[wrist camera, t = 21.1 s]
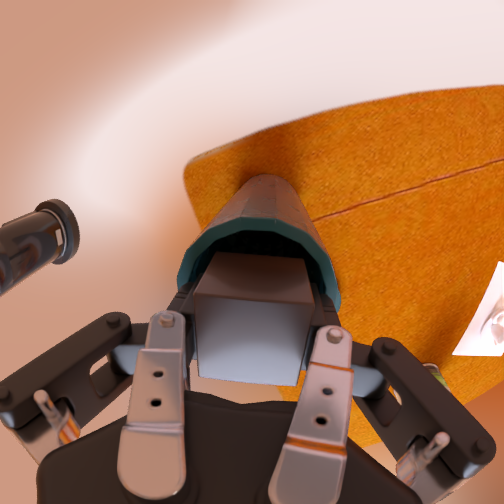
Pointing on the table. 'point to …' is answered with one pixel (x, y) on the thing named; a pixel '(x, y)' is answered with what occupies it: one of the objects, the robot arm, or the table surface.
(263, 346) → the block
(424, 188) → the table surface
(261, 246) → the tin
